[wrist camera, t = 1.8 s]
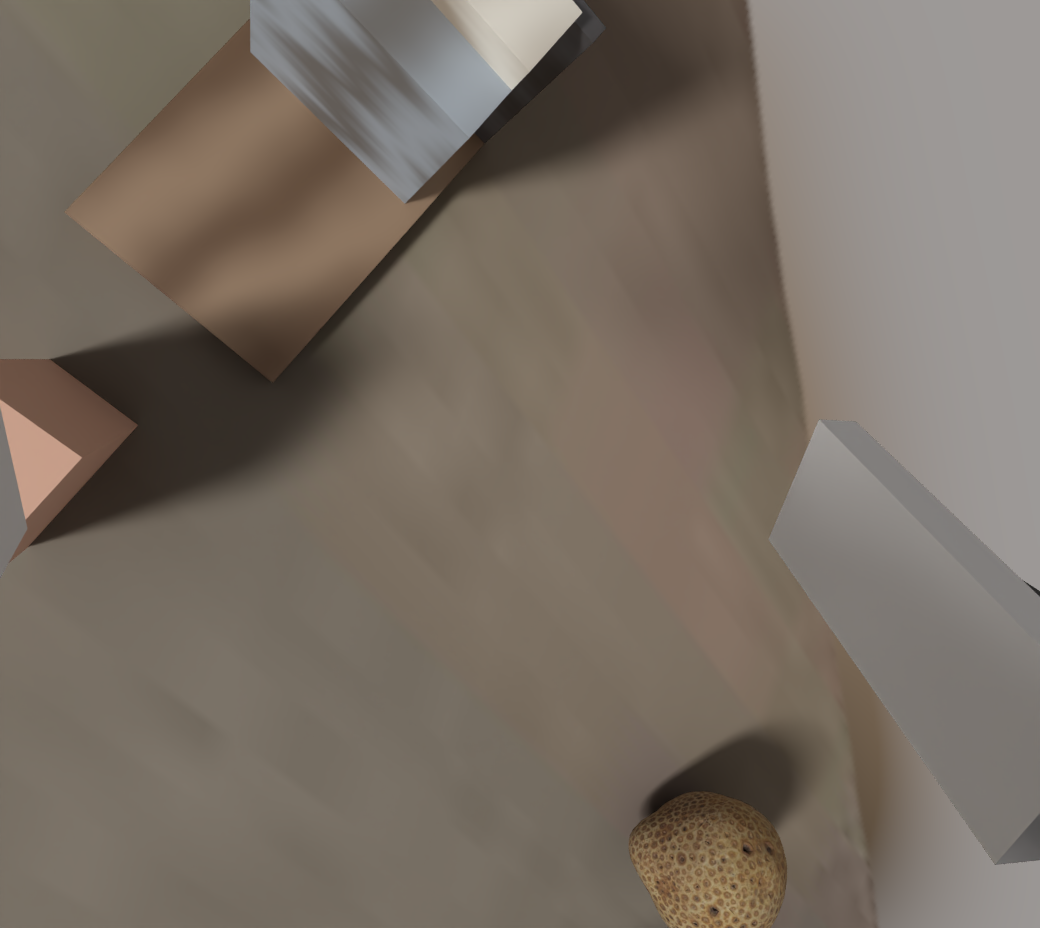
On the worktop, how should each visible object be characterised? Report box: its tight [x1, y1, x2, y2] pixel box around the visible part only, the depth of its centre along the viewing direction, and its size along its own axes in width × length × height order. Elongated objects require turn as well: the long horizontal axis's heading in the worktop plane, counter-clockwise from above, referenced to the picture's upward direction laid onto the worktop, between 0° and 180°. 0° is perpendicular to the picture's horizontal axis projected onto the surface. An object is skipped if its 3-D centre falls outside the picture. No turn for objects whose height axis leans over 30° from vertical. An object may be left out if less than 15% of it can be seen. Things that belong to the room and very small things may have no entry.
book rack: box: [65, 0, 606, 383], centre depth 33 cm, size 12×18×16 cm, turn 138°
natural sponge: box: [629, 791, 787, 928], centre depth 49 cm, size 9×9×10 cm
